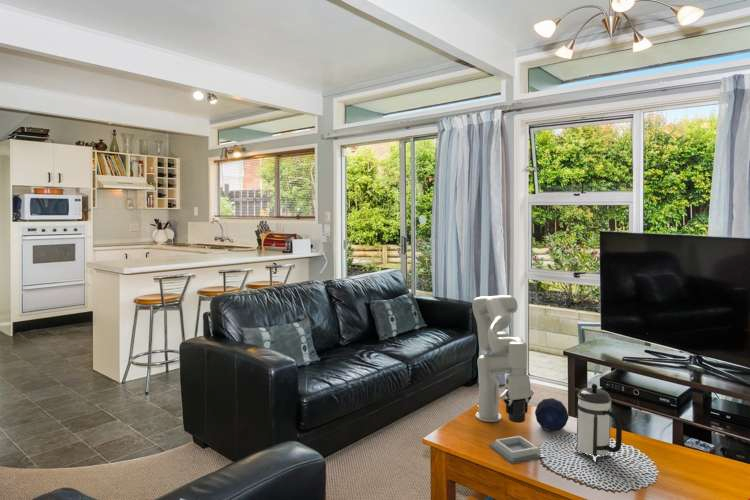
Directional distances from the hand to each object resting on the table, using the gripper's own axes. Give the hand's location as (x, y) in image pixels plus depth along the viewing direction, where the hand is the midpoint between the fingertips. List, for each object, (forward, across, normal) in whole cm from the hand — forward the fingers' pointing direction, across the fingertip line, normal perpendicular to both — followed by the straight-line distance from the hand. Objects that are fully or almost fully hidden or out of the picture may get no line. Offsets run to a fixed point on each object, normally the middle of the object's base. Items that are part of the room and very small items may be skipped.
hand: (516, 412), depth 209 cm
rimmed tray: (+17, 0, 0) cm, 17 cm away
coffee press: (+17, +29, -14) cm, 36 cm away
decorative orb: (+17, +29, +14) cm, 37 cm away
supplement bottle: (+4, 0, 0) cm, 4 cm away
